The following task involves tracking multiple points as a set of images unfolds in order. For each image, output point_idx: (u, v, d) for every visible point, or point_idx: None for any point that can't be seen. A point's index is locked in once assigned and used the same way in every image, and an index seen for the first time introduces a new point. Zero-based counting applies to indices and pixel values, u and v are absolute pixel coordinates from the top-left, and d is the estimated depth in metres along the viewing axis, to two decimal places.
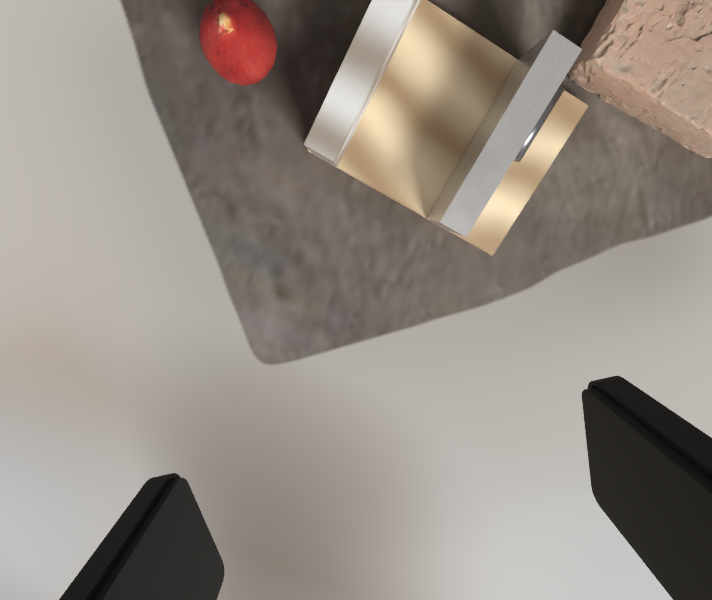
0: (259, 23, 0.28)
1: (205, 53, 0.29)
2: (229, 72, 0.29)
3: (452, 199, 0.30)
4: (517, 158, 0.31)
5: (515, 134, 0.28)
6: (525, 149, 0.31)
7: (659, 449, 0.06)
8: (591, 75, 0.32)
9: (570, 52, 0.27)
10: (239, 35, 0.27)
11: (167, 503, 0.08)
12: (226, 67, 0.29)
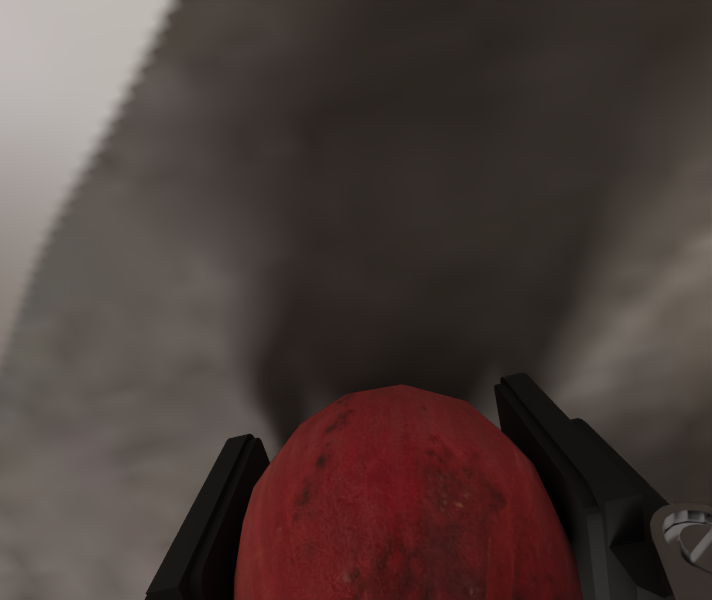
0: None
1: (241, 595, 0.05)
2: None
3: None
4: None
5: None
6: None
7: (535, 434, 0.07)
8: None
9: None
10: None
11: (250, 458, 0.09)
12: None
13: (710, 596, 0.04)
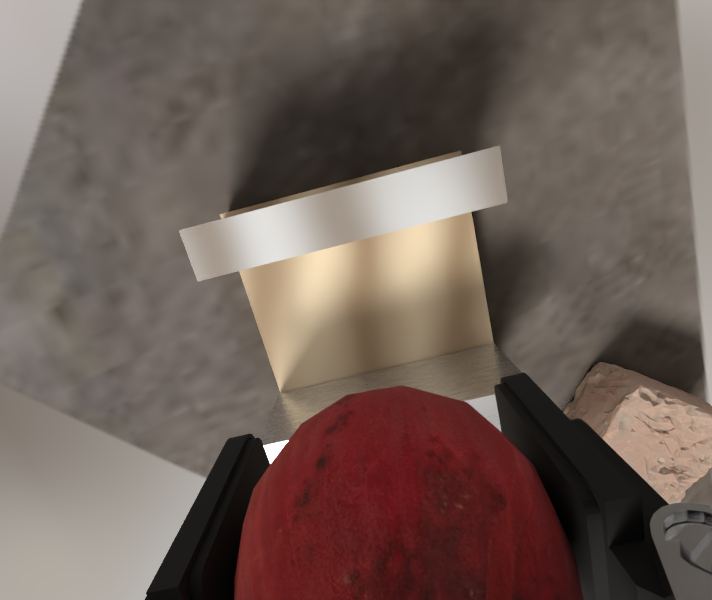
0: None
1: (241, 596, 0.05)
2: None
3: None
4: None
5: None
6: None
7: (535, 434, 0.07)
8: (608, 389, 0.25)
9: None
10: None
11: (250, 458, 0.09)
12: None
13: (710, 596, 0.04)
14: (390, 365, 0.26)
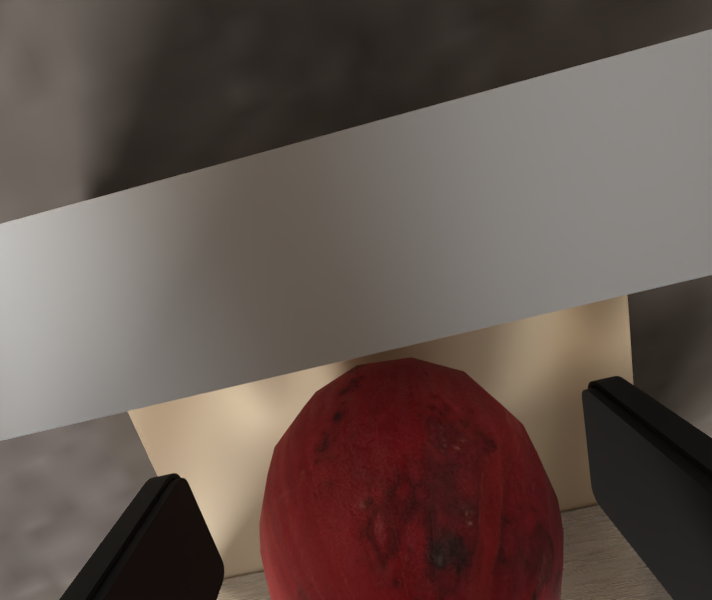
0: None
1: (269, 530, 0.06)
2: None
3: None
4: None
5: None
6: None
7: (659, 449, 0.06)
8: None
9: None
10: None
11: (167, 503, 0.08)
12: None
13: None
14: None
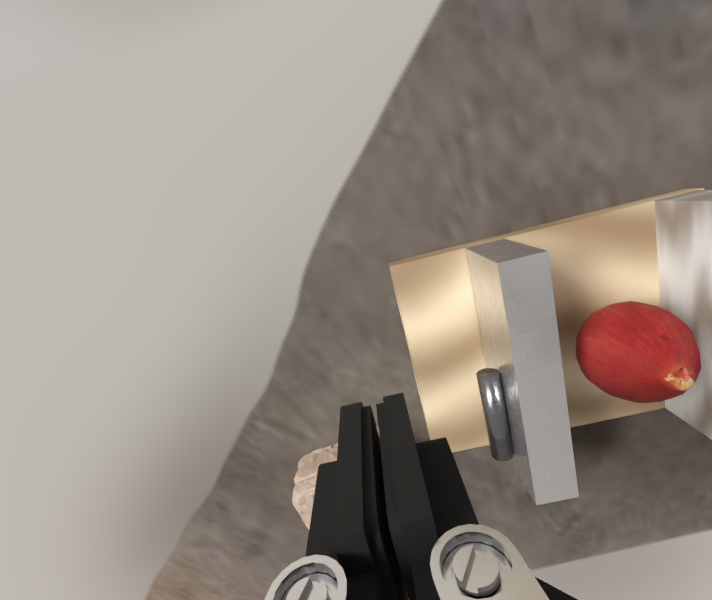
0: (629, 395, 0.21)
1: (674, 319, 0.20)
2: (633, 322, 0.20)
3: None
4: (486, 378, 0.23)
5: (538, 401, 0.21)
6: (486, 391, 0.23)
7: (384, 455, 0.07)
8: None
9: (545, 495, 0.22)
10: (652, 376, 0.19)
11: None
12: (642, 327, 0.20)
13: None
14: None
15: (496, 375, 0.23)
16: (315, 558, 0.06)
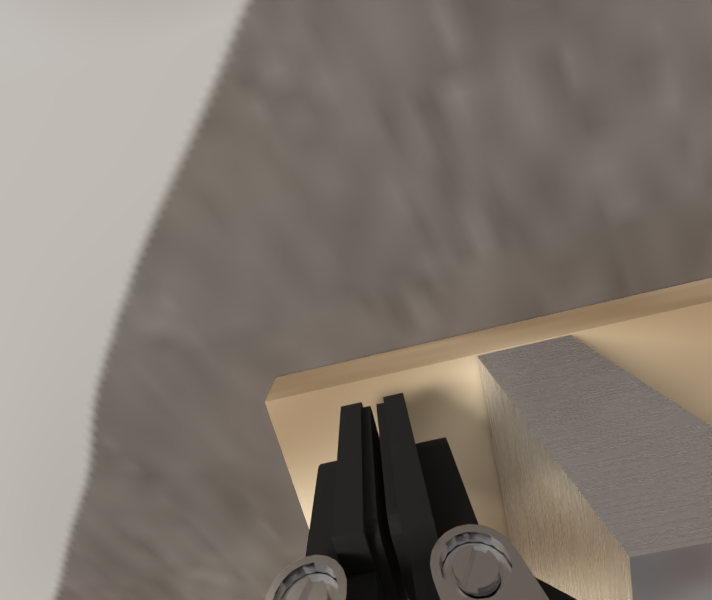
0: None
1: None
2: None
3: None
4: None
5: None
6: None
7: (384, 455, 0.07)
8: None
9: None
10: None
11: None
12: None
13: None
14: None
15: None
16: (315, 558, 0.06)
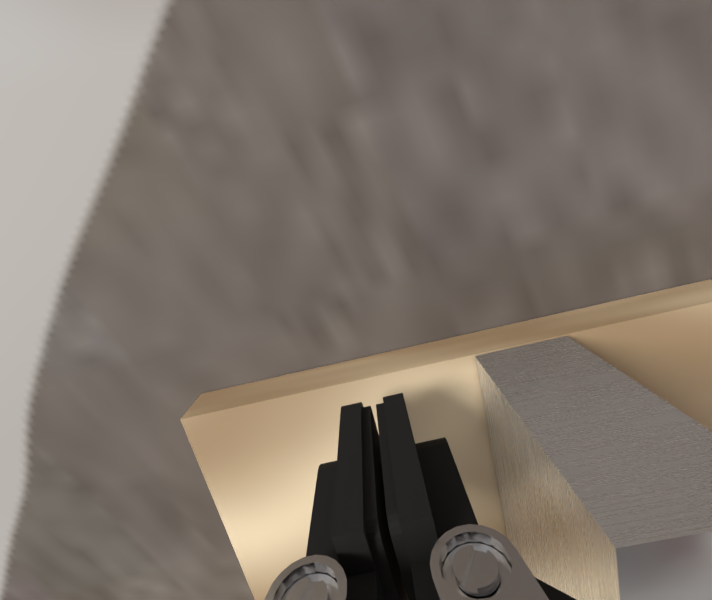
0: None
1: None
2: None
3: None
4: None
5: None
6: None
7: (384, 455, 0.07)
8: None
9: None
10: None
11: None
12: None
13: None
14: None
15: None
16: (315, 558, 0.06)
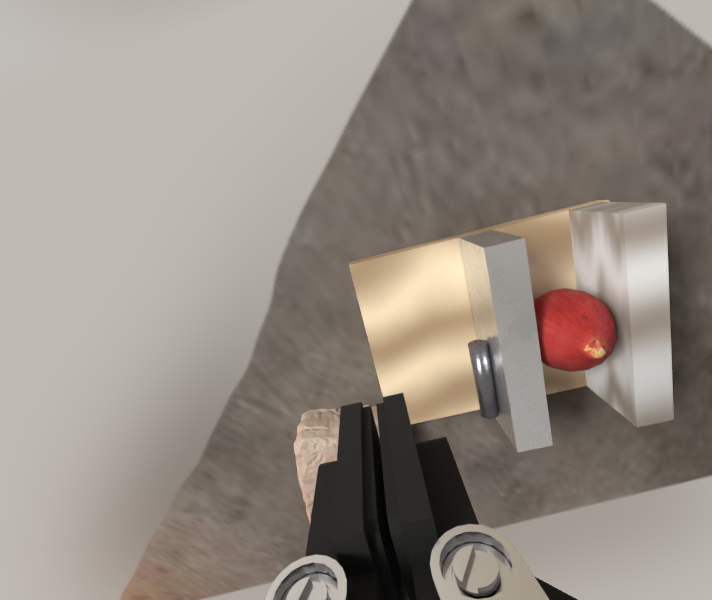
0: (561, 365, 0.25)
1: (594, 301, 0.25)
2: (561, 305, 0.25)
3: None
4: (476, 347, 0.27)
5: (518, 363, 0.25)
6: (476, 358, 0.28)
7: (384, 455, 0.07)
8: None
9: (524, 444, 0.27)
10: (575, 348, 0.24)
11: None
12: (567, 308, 0.25)
13: None
14: (462, 335, 0.31)
15: (484, 344, 0.27)
16: (315, 558, 0.06)
